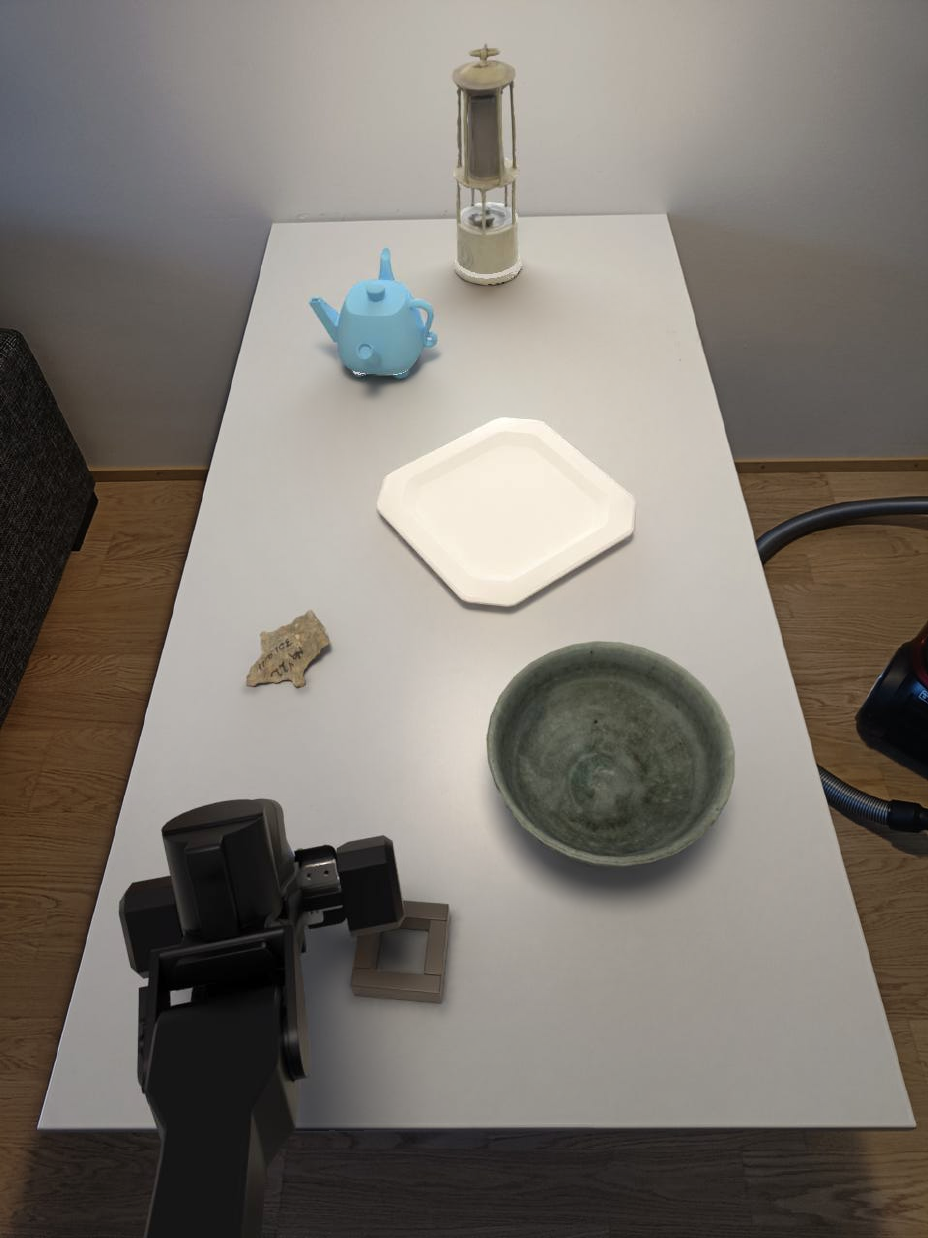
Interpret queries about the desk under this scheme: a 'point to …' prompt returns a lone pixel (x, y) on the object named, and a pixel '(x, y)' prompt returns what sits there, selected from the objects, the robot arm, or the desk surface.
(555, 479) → the plate
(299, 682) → the artifact
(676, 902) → the desk surface
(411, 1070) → the desk surface
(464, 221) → the lamp
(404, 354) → the teapot
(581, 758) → the bowl
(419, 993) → the frame
